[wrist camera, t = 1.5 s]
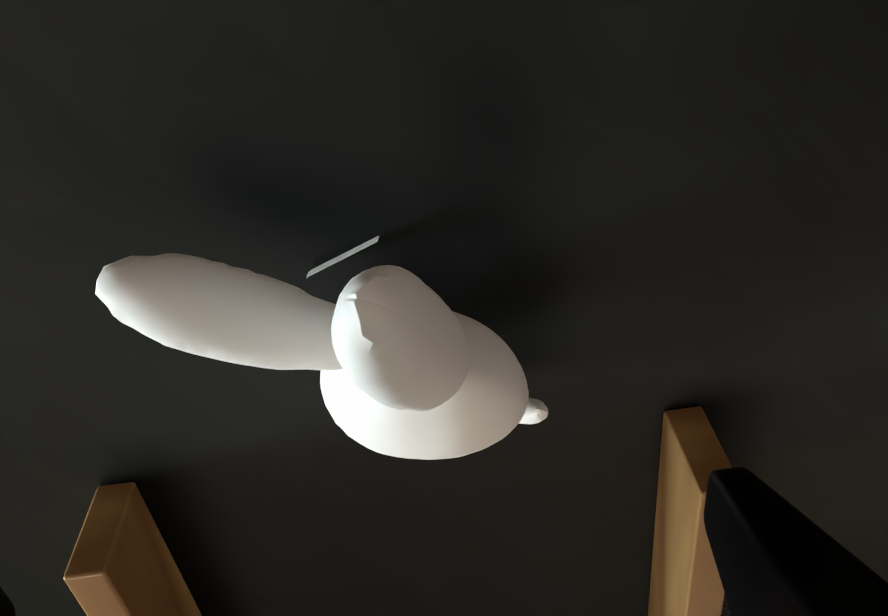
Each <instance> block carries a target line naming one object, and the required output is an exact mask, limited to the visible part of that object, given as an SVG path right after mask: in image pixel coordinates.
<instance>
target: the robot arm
mask: <svg viewBox="0 0 888 616" xmlns="http://www.w3.org/2000/svg"><path fill="white" fill-rule="evenodd" d="M704 525H705V530H706V534H707V537H708V540H709V543H710V547H711V550H712V553H713V556H714V560H715V563H716V566H717V569H718V573H719V576H720V579H721V582H722V586H723V589H724V592H725V595H726V599H727V602H728V605H729V608H730V612H731V615H732V616H888V583H887V582H886V581H885V580H884V579H882V578H881V577H880V576H879V575H877V574H876V573H875V572H874V571H872V570H871V569H870V568H869V567H868V566H866V565H865V564H864V563H863V562H861V561H860V560H859V559H858V558H856V557H855V556H854V555H853V554H852V553H850V552H849V551H848V550H847V549H845V548H844V547H843V546H842V545H840V544H839V543H838V542H837V541H836V540H834V539H833V538H832V537H831V536H829V535H828V534H827V533H826V532H824V531H823V530H822V529H821V528H820V527H818V526H817V525H816V524H815V523H813V522H812V521H811V520H810V519H808V518H807V517H806V516H805V515H804V514H802V513H801V512H800V511H799V510H797V509H796V508H795V507H794V506H793V505H791V504H790V503H789V502H788V501H786V500H785V499H784V498H783V497H781V496H780V495H779V494H778V493H777V492H775V491H774V490H773V489H772V488H770V487H769V486H768V485H767V484H765V483H764V482H763V481H762V480H761V479H759V478H758V477H757V476H756V475H754V474H753V473H752V472H751V471H749V470H748V469H746V468H743V467H733V468H725V469H718V470H714V471H712V472H711V473H710V475H709V478H708V484H707V491H706V499H705V506H704ZM0 616H16V615H15V609H14V606H13V604H12V602H11V600H10V599H9V598H8V596H7V595H6V594H5V592H4V591H3V590H2V588H1V587H0Z"/></svg>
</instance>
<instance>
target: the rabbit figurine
mask: <svg viewBox="0 0 888 616" xmlns="http://www.w3.org/2000/svg"><path fill="white" fill-rule="evenodd" d="M378 239H379V236H377V237H375V238H373V239H371V240H369V241H367V242H365V243H363V244H361V245H359V246H357V247H355V248H353V249H351V250H349V251H347V252H345V253H343V254H341V255H340V256H338V257H336V258H334V259H332V260H330V261H328V262H326V263H324V264H322V265H320V266H318V267H316V268H314V269H312V270H310V271H309V272H308V274H307V277H309V276H311V275H313V274H315V273H317V272H319V271H321V270H323V269H325V268H327V267H329V266H331V265H333V264H335V263H337V262H339V261H341V260H343V259H345V258H347V257H348V256H350V255H352V254H354V253H356V252H358V251H360V250H362V249H364V248H366V247H368V246H370V245H372V244H374V243H376V242H378ZM307 277H306V278H307ZM95 294H96V295H97V296H98V297H99V299H100V300H101V301H102V302H103V303H104V304H105V305H106V306H107V307H108V308H109V310H110V312H111V313H112V315H113V316H114V317H115V318H117V319H118V320H119V321H120V322H122V323H123V324H125V325H128V326H130V327H132V328H134V329H135V330H137V331H139V332H140V333H142V334H144V335H145V336H147V337H149V338H151V339H153V340H155V341H157V342H159V343H161V344H163V345H165V346H168V347H171V348H175V349H178V350H181V351H185V352H188V353H191V354H195V355H199V356H204V357H208V358H212V359H217V360H221V361H225V362H230V363H236V364H241V365H247V366H254V367H261V368H269V369H277V370H296V369H310V370H321V372H320V386H321V391H322V395H323V399H324V402H325V405H326V407H327V409H328V410H329V412H330V414H331V416H332V417H333V419H334V421H335V423H336V424H337V425H338V426H340V427H341V428H342V430H343V431H344V432H345V433H346V434H347V435H348V436H349V437H350V438H352V439H353V440H355V441H357V442H358V443H360V444H361V445H363V446H365V447H367V448H368V449H371V450H373V451H375V452H378V453H381V454H384V455H389V456H394V457H400V458H408V459H423V460H435V459H448V458H456V457H462V456H465V455H468V454H471V453H474V452H478V451H481V450H483V449H485V448H487V447H489V446H491V445H493V444H494V443H496V442H498V441H500V440H502V439H503V438H504V437H505V436H507V435H508V434H509V433H510V432H511V431H512V430H513V429H514V428H515V427H516V426H517V424H518V423H519V424H535V423H539V422H541V421H542V420H544V419H545V418H547V415H548V408H547V407H546V406H545V404H544V403H543V402H542V401H540V400H538V399H533V398H528V395H529V392H528V387H527V380H526V378H525V375H524V372H523V369H522V367H521V365H520V363H519V362H518V360H517V358H516V356H515V354H514V353H513V352H512V350H511V349H510V348H509V347H508V345H507V344H506V343H505V342H504V341H503V340H502V339H501V338H500V337H499V336H498V335H497V334H496V333H495V332H493V331H492V330H491V329H489V328H488V327H486V326H485V325H483V324H481V323H479V322H478V321H476V320H474V319H472V318H469V317H467V316H464V315H462V314H459V313H456V312H453V311H451V309H450V308H449V307H448V306H447V305H446V304H445V303H444V301H443V300H442V299H441V298H440V296H439V295H437V294H436V293H435V292H434V291H433V290H432V289H431V288H429V287H428V286H427V285H426V284H425V283H424V282H423V281H422V280H421V279H420V278H418V277H417V276H416V275H414V274H413V273H411V272H410V271H408V270H406V269H404V268H401V267H399V266H393V265H384V266H376V267H373V268H370V269H367V270H365V271H363V272H361V273H360V274H358V275H357V276H355V277H353V278H352V279H351V280H350V281H349V282H348V284H347V285H346V286H345V287H344V289H343V291H342V292H341V293H340V295H339V298H338V301H337V304H333V303H330V302H327V301H325V300H322V299H319V298H316V297H314V296H311V295H309V294H307V293H306V292H305V291H303V290H302V289H300V288H298V287H295V286H293V285H290V284H288V283H285V282H283V281H280V280H277V279H275V278H272V277H269V276H266V275H261V274H255V273H254V272H252V271H250V270H247V269H242V268H237V267H232V266H230V265H227V264H225V263H222V262H216V261H211V260H208V259H205V258H202V257H196V256H190V255H184V254H175V253H167V254H162V255H157V256H129V257H126V258H124V259H121V260H119V261H116V262H114V263H111V264H109V265H106V266H104V267H103V269H102V271H101V273H100V275H99V277H98V279H97V281H96V291H95Z"/></svg>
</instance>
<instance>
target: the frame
mask: <svg viewBox="0 0 888 616" xmlns="http://www.w3.org/2000/svg"><path fill="white" fill-rule="evenodd" d="M725 468H732V466H731V464H730V462H729V460H728V458H727V456H726V454H725V452H724V450H723V448H722V446H721V444H720V442H719V440H718V438H717V436H716V434H715V432H714V430H713V428H712V427H711V425H710V423H709V421H708V419H707V417H706V415H705V413H704V411H703V409H702V407H700V406H697V407H690V408H682V409H675V410H667V411H664V414H663V426H662V439H661V452H660V465H659V478H658V491H657V503H656V516H655V529H654V542H653V555H652V568H651V581H650V594H649V607H648V616H721V612H722V606H723V601H724V595H725V592H724V589H723V586H722V582H721V579H720V576H719V573H718V569H717V566H716V563H715V560H714V556H713V553H712V550H711V547H710V543H709V540H708V537H707V534H706V530H705V525H704V506H705V499H706V491H707V484H708V478H709V475H710V473H711V472H712V471H714V470H718V469H725ZM64 581H65V582H66V584H67V585H68V587H69V589H70V590H71V592H72V593H73V595H74V596H75V598H76V599H77V601H78V602H79V604H80V605H81V607H82V608H83V610H84V611H85V613H86V614H87V616H202V614H201V613H200V611H199V609H198V607H197V605H196V603H195V601H194V599H193V597H192V595H191V593H190V591H189V589H188V587H187V585H186V583H185V581H184V579H183V577H182V575H181V573H180V571H179V569H178V567H177V565H176V563H175V561H174V559H173V557H172V555H171V553H170V551H169V549H168V547H167V545H166V543H165V541H164V539H163V537H162V535H161V533H160V532H159V530H158V528H157V526H156V524H155V522H154V520H153V518H152V516H151V514H150V512H149V510H148V508H147V506H146V504H145V502H144V500H143V498H142V496H141V494H140V492H139V490H138V488H137V486H136V484H135V483H134V482H127V483H119V484H112V485H104V486H99V487H98V488H97V489H96V492H95V495H94V497H93V500H92V503H91V505H90V508H89V510H88V513H87V516H86V518H85V521H84V524H83V526H82V529H81V531H80V534H79V537H78V539H77V542H76V545H75V547H74V550H73V552H72V555H71V558H70V560H69V563H68V566H67V568H66V571H65V573H64Z"/></svg>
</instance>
